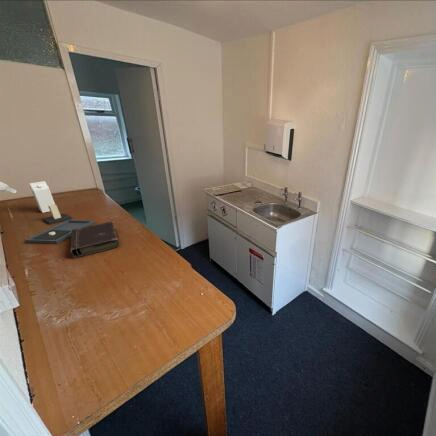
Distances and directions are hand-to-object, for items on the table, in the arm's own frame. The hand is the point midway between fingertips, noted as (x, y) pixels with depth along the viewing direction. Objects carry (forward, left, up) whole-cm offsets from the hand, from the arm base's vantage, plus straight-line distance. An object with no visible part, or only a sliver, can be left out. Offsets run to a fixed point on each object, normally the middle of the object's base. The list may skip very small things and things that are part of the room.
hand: (13, 190), depth 123 cm
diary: (+49, -16, -21) cm, 56 cm away
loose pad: (+7, +10, -21) cm, 25 cm away
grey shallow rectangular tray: (+24, -6, -21) cm, 33 cm away
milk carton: (-11, +24, -21) cm, 34 cm away
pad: (+24, -12, -21) cm, 34 cm away
